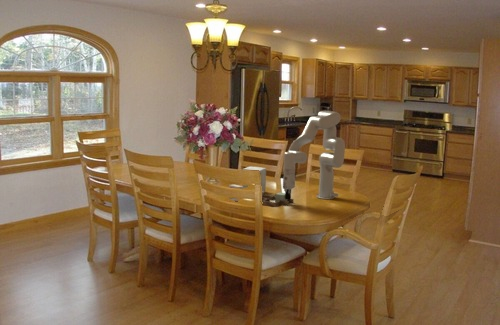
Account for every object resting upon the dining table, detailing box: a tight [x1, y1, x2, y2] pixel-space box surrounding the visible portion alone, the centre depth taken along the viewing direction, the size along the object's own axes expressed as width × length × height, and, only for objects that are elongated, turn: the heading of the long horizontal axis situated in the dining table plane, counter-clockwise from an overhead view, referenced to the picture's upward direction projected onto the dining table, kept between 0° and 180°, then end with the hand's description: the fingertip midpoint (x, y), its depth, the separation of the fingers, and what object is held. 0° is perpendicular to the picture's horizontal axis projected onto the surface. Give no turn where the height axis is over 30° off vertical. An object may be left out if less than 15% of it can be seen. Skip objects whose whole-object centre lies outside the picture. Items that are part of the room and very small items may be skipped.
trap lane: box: [261, 191, 294, 208], centre depth 324 cm, size 23×24×5 cm
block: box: [274, 192, 287, 202], centre depth 322 cm, size 6×6×6 cm
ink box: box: [228, 184, 243, 202], centre depth 315 cm, size 8×5×12 cm, turn 47°
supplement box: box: [241, 165, 267, 193], centre depth 349 cm, size 13×13×18 cm
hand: (287, 199), depth 319 cm, fingers closed
